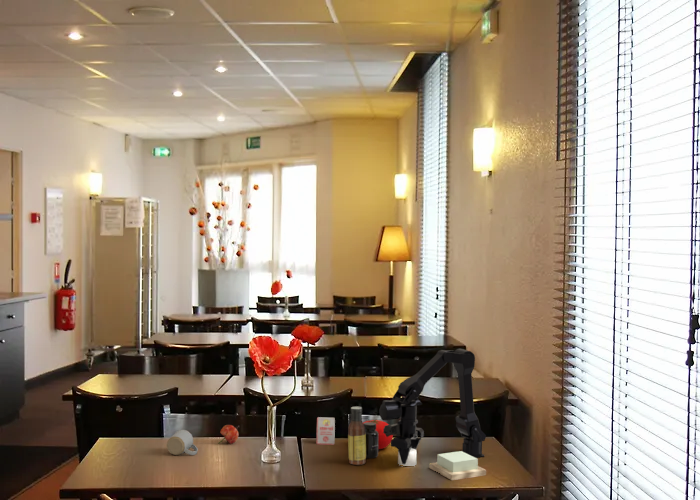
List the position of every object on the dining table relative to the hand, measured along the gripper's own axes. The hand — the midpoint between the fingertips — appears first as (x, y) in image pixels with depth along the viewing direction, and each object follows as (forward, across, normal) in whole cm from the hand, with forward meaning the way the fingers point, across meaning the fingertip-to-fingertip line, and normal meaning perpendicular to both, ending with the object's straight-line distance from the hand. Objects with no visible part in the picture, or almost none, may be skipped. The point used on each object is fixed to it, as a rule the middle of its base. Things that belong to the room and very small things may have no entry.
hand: (407, 461), depth 281 cm
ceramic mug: (+1, +25, -78) cm, 82 cm away
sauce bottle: (+1, +7, -16) cm, 18 cm away
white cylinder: (+1, 0, 0) cm, 1 cm away
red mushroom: (+1, +7, -70) cm, 71 cm away
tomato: (+1, -14, -18) cm, 23 cm away
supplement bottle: (+1, -3, -16) cm, 16 cm away
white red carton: (+1, -11, -37) cm, 39 cm away
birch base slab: (+2, 0, +18) cm, 18 cm away
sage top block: (-1, 0, +18) cm, 18 cm away
